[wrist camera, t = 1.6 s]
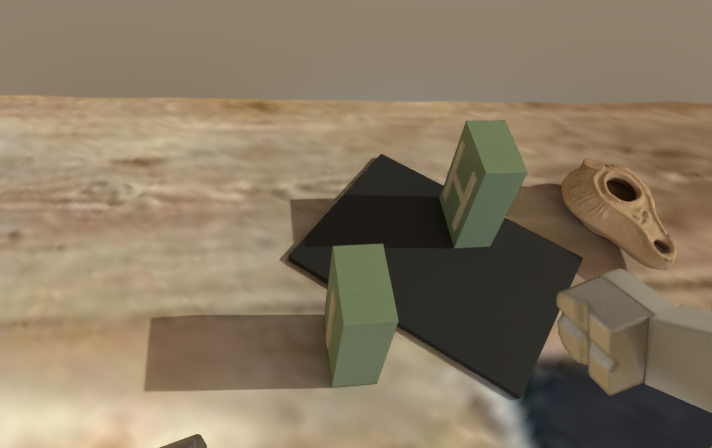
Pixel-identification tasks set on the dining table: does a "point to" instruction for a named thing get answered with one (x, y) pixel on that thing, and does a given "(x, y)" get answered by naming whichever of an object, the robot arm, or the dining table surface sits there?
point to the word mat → (450, 273)
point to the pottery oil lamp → (619, 211)
